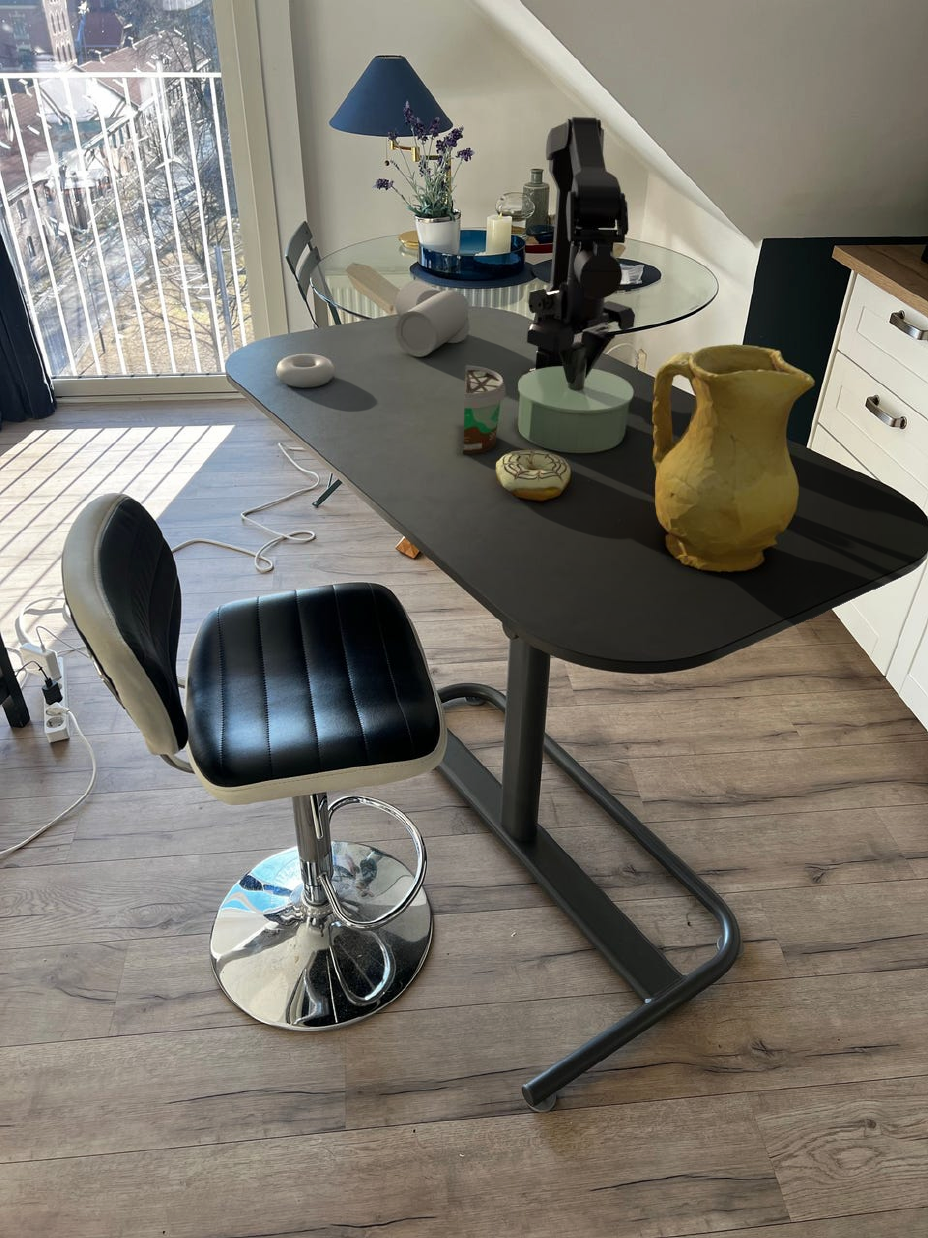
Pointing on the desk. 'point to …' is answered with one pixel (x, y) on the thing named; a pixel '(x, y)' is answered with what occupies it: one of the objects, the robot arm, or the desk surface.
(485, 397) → the food container
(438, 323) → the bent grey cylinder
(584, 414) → the pot
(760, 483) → the pitcher
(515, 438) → the desk surface
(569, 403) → the lid
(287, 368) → the donut
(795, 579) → the desk surface
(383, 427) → the desk surface
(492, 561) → the desk surface
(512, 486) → the decorated donut
